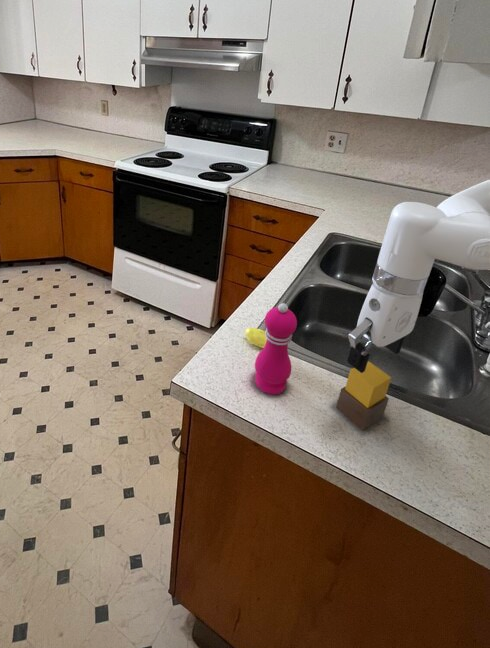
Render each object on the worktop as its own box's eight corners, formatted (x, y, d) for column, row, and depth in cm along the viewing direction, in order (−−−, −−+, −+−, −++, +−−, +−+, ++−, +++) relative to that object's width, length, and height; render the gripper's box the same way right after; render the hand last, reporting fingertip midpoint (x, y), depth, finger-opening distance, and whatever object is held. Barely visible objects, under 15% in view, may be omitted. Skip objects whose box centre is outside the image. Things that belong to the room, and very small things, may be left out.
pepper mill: (245, 376, 90) (256, 298, 81) (272, 366, 93) (285, 289, 84) (267, 401, 84) (281, 320, 75) (295, 389, 87) (312, 309, 78)
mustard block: (361, 379, 83) (367, 360, 81) (384, 397, 79) (391, 377, 77) (344, 389, 81) (350, 369, 79) (367, 408, 77) (374, 387, 75)
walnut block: (356, 395, 86) (361, 377, 84) (382, 417, 81) (389, 398, 79) (335, 407, 83) (340, 388, 81) (362, 430, 78) (368, 411, 76)
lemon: (270, 357, 95) (272, 344, 93) (240, 340, 100) (242, 327, 98) (279, 348, 98) (282, 335, 96) (250, 332, 103) (252, 319, 101)
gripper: (387, 304, 62) (359, 390, 69) (452, 275, 70) (421, 355, 77) (344, 279, 68) (323, 360, 75) (409, 255, 76) (384, 331, 83)
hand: (373, 357), depth 76 cm, fingers open, 9 cm apart
